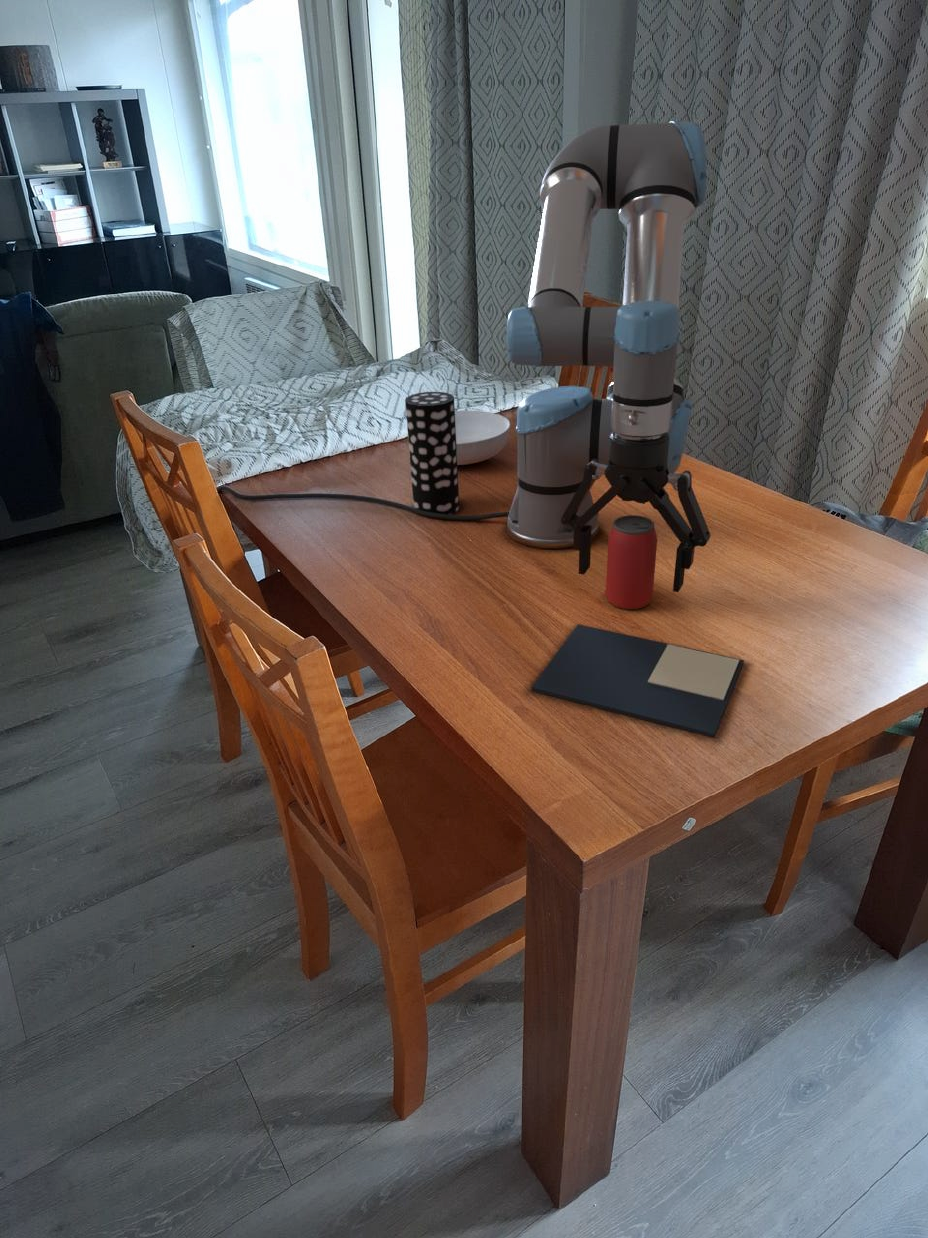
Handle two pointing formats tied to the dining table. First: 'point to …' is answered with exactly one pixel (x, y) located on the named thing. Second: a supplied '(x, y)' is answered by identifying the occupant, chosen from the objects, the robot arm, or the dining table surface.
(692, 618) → the dining table surface
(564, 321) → the robot arm
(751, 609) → the dining table surface
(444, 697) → the dining table surface
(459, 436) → the serving bowl
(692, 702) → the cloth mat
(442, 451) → the spotted tube
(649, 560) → the beer can
